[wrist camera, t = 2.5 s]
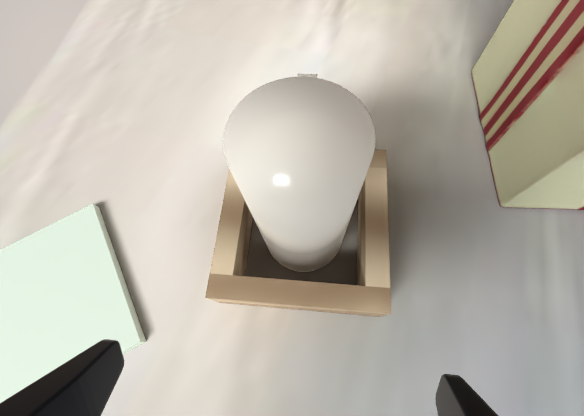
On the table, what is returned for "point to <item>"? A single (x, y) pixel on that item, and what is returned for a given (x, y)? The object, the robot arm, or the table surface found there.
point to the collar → (303, 294)
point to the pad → (61, 299)
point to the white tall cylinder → (300, 165)
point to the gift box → (535, 104)
